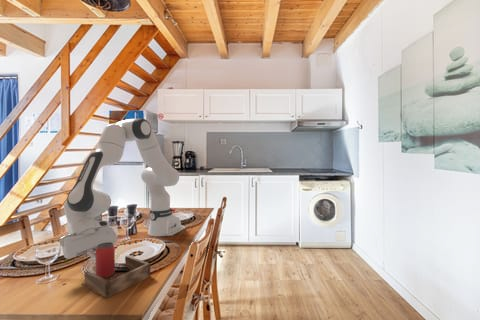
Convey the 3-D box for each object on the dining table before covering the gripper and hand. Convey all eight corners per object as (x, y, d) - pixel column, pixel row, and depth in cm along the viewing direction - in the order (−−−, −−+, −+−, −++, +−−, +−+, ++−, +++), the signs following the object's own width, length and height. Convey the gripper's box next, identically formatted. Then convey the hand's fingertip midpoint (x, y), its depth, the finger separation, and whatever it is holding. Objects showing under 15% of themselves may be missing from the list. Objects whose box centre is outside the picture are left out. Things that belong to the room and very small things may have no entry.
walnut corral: (127, 267, 107) (127, 255, 107) (150, 276, 100) (150, 263, 100) (84, 285, 93) (84, 272, 92) (107, 298, 85) (107, 283, 85)
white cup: (73, 234, 148) (73, 216, 148) (86, 234, 148) (86, 217, 147) (63, 238, 140) (63, 220, 140) (77, 239, 140) (77, 221, 139)
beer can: (108, 279, 97) (108, 248, 96) (92, 278, 98) (91, 247, 97) (118, 271, 104) (117, 242, 103) (102, 270, 104) (102, 241, 104)
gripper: (60, 232, 97) (73, 264, 92) (112, 220, 114) (125, 247, 109) (55, 241, 99) (67, 273, 95) (106, 228, 117) (119, 254, 112)
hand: (98, 259), depth 102 cm, fingers closed, pressing on beer can
